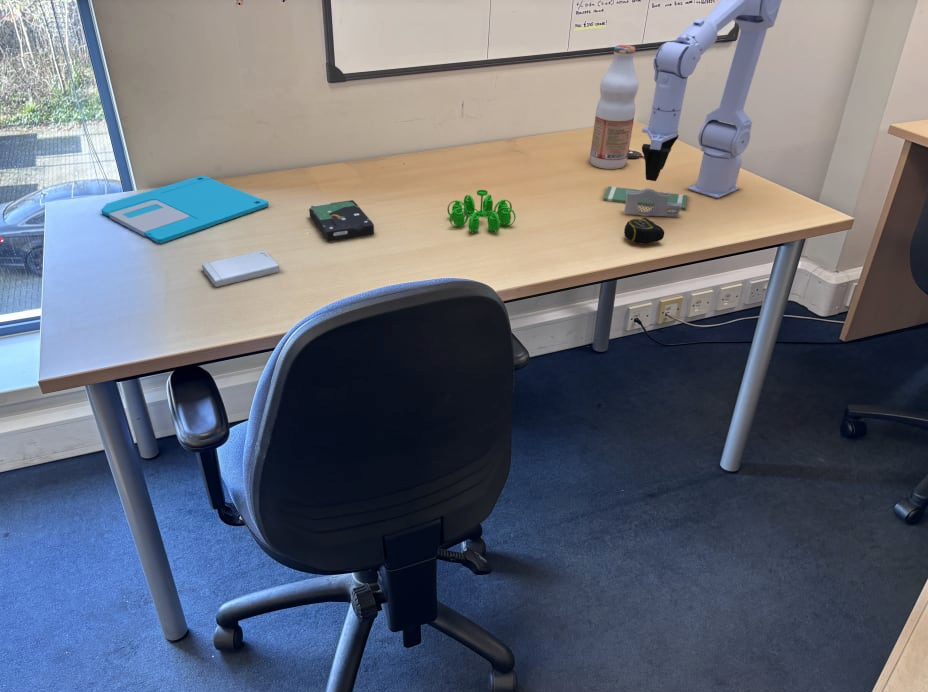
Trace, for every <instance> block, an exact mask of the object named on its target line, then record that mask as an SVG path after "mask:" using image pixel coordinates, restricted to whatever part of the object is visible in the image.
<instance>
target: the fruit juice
mask: <svg viewBox="0 0 928 692" xmlns="http://www.w3.org/2000/svg"><path fill="white" fill-rule="evenodd" d="M635 53H636V46H634V45H629V44H618V45H615V46H614V47H613V55H614V56H613V59H612V61H611V64H610V65H609V68H608V70H607V71H606V73H605V75H604V76H603V77H602V79H601V81H600V84H599V93H600V97H599V101H598V102H597V104H596V110H595V116H594V122H593V123H594V125H593V131H592V138H591V147H590V153H589V163H590V164H591V165H592V166H593V167H596V168H599V169H605V170H618V169H621V168H624V167H625V166H626V165H627V162H628V158H629V151H630V145H631V139H632V134H633V133H632V132H633V127H634V120H635V115H636V102H635V99H636V97H637V94H638V91H639V87H640V85H639V84H640V83H639V80H638V77H637V74H636V71H635V64H634V56H635Z"/></svg>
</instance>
